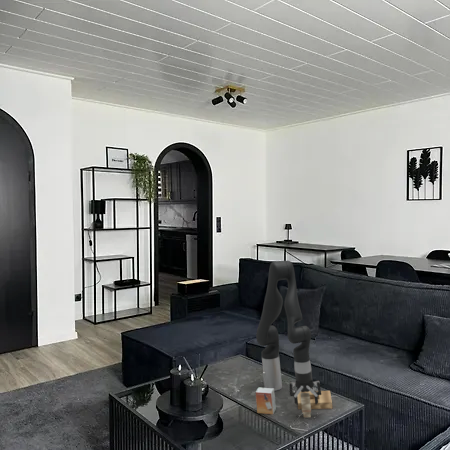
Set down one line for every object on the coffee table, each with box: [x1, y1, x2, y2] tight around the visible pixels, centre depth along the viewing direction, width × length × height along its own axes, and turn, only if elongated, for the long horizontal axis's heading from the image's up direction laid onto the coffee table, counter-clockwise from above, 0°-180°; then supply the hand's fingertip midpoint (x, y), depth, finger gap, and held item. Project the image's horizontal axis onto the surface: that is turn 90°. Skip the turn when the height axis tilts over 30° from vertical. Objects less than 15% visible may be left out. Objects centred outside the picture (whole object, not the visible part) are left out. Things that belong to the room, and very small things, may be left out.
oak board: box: [297, 390, 333, 410], centre depth 210 cm, size 16×12×3 cm
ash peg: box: [301, 393, 312, 419], centre depth 199 cm, size 4×4×10 cm
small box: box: [255, 386, 277, 415], centre depth 207 cm, size 8×6×10 cm
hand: (306, 403), depth 198 cm, fingers open, 8 cm apart
